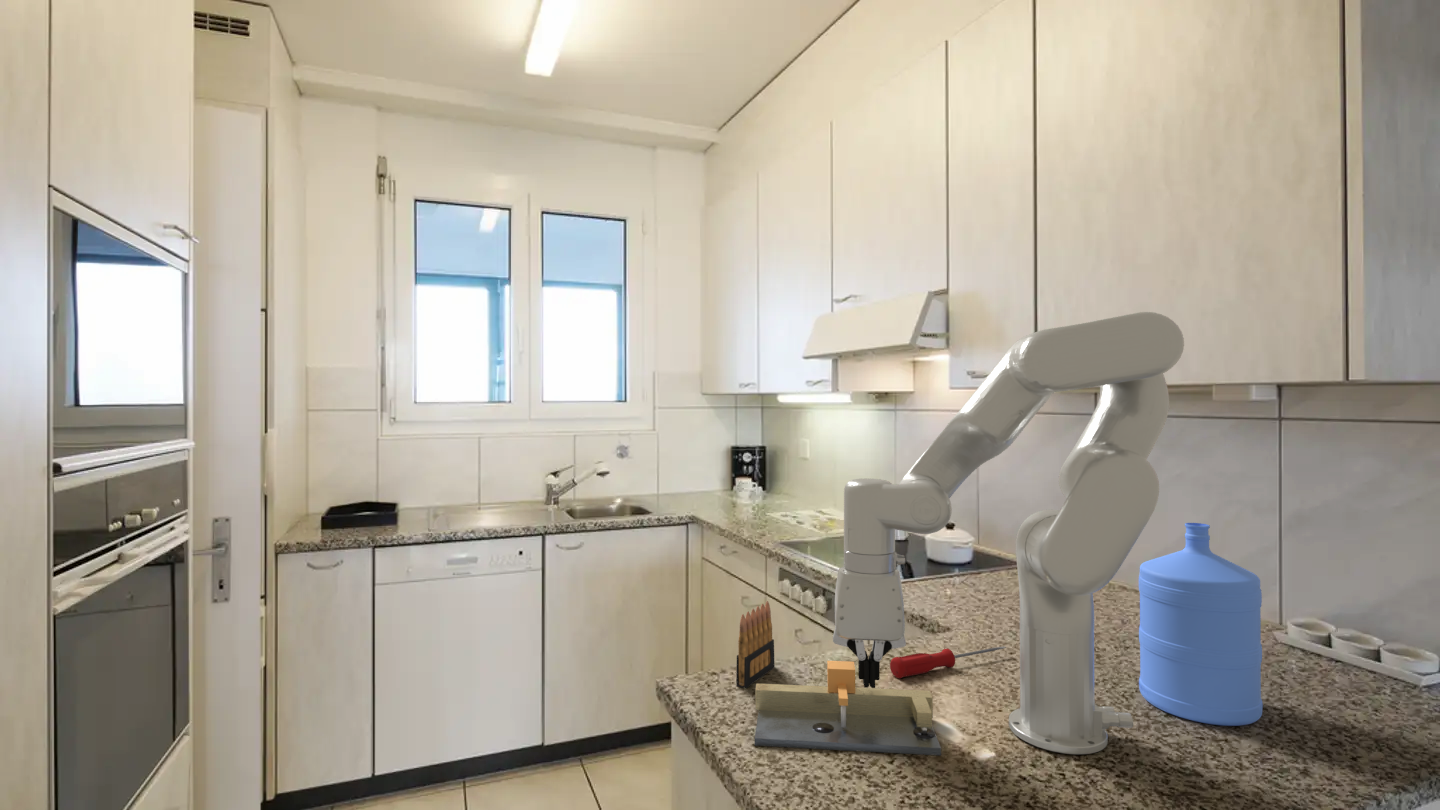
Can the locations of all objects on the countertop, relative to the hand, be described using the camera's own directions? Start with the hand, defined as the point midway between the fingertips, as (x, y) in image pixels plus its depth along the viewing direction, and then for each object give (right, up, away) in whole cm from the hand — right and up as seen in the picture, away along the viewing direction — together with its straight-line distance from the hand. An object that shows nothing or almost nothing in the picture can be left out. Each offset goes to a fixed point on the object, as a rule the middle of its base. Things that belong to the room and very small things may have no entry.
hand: (868, 683), depth 103 cm
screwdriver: (+19, -5, +20) cm, 28 cm away
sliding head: (-4, -4, -2) cm, 6 cm away
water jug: (+52, -5, +4) cm, 52 cm away
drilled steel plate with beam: (-4, -5, -3) cm, 7 cm away
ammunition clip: (-16, -6, +16) cm, 23 cm away
